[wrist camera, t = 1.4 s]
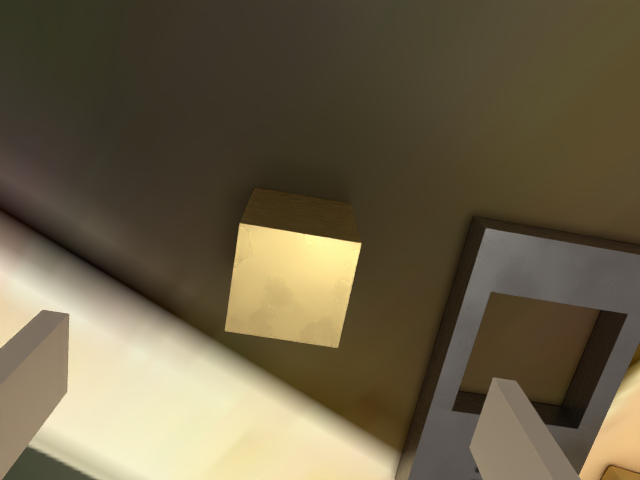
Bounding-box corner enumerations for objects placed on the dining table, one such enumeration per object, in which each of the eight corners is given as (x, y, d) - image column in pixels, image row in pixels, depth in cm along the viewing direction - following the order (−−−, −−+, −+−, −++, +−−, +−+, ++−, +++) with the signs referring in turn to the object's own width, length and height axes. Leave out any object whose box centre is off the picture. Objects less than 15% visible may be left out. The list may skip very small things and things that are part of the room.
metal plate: (473, 216, 27) (486, 228, 25) (651, 247, 27) (677, 261, 25) (394, 479, 32) (399, 506, 31) (542, 498, 33) (556, 526, 31)
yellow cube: (254, 186, 26) (239, 223, 20) (350, 203, 26) (361, 243, 21) (242, 275, 28) (224, 331, 22) (332, 289, 28) (337, 347, 22)
